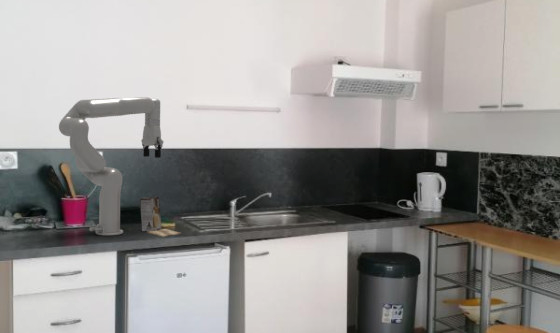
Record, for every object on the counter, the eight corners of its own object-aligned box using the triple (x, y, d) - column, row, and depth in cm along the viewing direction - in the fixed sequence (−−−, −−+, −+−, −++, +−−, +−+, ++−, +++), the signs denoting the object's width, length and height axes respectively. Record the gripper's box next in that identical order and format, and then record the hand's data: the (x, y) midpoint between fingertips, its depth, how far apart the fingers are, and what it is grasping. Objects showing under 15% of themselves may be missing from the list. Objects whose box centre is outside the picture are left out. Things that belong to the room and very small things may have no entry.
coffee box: (149, 228, 271) (147, 196, 270) (161, 227, 269) (159, 196, 269) (141, 231, 262) (139, 198, 261) (153, 231, 260) (151, 198, 260)
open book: (162, 236, 251) (162, 235, 251) (146, 232, 259) (146, 231, 259) (181, 233, 259) (181, 232, 259) (165, 229, 268) (165, 228, 267)
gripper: (136, 122, 272) (135, 156, 273) (156, 123, 260) (155, 158, 262) (148, 123, 277) (148, 155, 278) (168, 123, 266) (168, 157, 267)
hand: (152, 157), depth 270 cm, fingers open, 9 cm apart
